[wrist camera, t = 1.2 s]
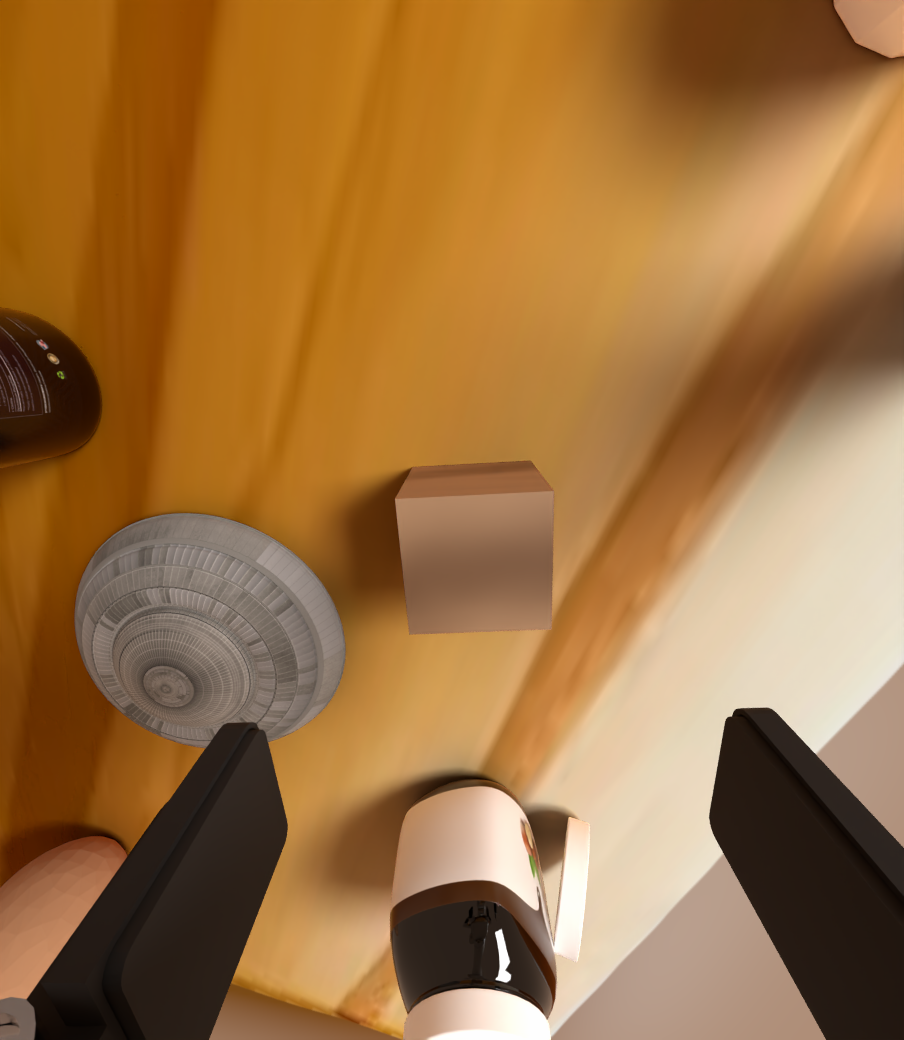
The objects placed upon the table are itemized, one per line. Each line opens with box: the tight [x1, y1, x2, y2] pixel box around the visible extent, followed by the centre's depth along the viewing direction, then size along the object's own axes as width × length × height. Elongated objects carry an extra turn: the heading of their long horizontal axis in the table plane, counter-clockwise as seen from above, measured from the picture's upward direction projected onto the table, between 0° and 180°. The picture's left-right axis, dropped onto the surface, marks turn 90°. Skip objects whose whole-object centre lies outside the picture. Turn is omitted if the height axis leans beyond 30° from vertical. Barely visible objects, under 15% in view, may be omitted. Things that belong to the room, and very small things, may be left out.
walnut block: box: [395, 461, 554, 634], centre depth 20 cm, size 6×6×6 cm
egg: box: [0, 836, 127, 1000], centre depth 26 cm, size 8×8×11 cm
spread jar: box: [390, 779, 590, 1040], centre depth 24 cm, size 12×11×12 cm
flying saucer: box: [75, 513, 345, 748], centre depth 23 cm, size 15×15×6 cm
